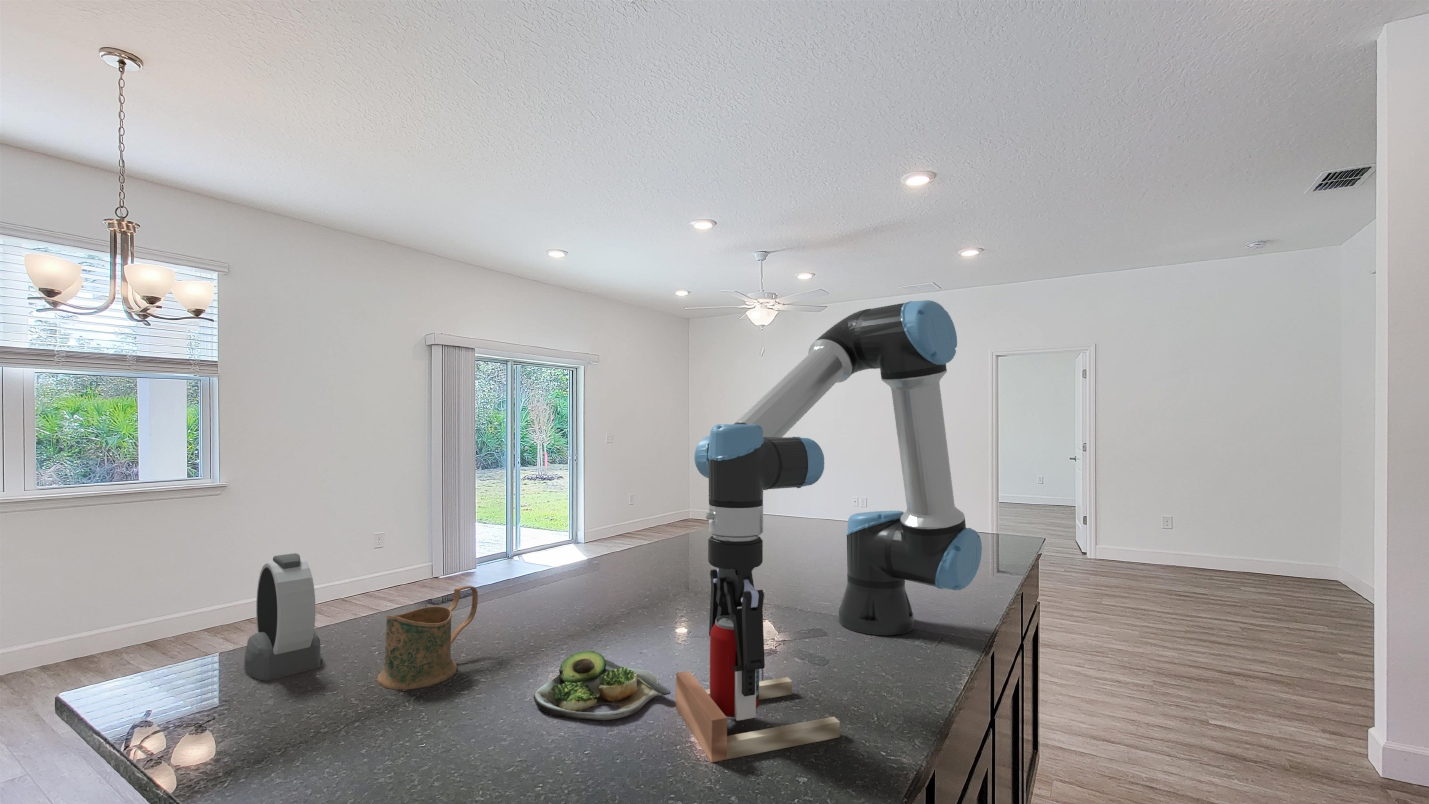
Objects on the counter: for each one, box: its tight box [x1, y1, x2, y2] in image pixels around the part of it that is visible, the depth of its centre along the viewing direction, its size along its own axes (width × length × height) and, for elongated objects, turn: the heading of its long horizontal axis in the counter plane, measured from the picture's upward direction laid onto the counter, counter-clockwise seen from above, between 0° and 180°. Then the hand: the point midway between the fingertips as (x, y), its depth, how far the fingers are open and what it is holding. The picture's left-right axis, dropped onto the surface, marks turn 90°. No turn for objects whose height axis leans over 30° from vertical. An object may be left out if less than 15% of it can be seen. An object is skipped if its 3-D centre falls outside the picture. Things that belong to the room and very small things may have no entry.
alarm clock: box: [243, 552, 321, 681], centre depth 103 cm, size 16×10×18 cm, turn 47°
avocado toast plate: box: [533, 650, 671, 721], centre depth 92 cm, size 19×18×5 cm
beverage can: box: [709, 615, 760, 719], centre depth 83 cm, size 7×7×12 cm
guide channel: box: [675, 670, 841, 763], centre depth 84 cm, size 18×15×5 cm
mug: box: [377, 585, 479, 690], centre depth 102 cm, size 12×18×12 cm, turn 155°
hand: (734, 704), depth 83 cm, fingers closed on beverage can, 7 cm apart
